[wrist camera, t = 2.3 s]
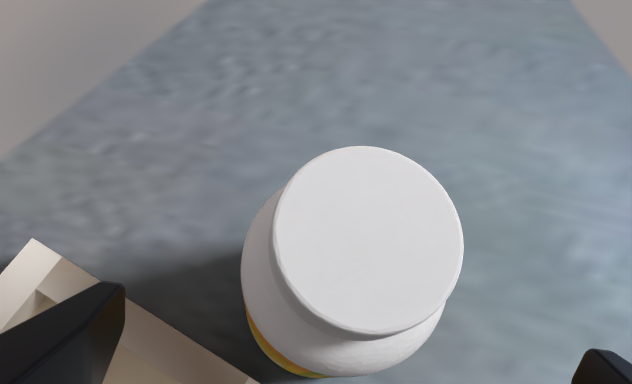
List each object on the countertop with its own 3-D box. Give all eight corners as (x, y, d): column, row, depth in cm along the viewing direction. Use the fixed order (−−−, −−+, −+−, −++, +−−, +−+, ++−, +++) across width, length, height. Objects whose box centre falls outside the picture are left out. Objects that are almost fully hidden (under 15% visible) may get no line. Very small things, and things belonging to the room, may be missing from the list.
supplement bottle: (289, 408, 17) (322, 440, 8) (222, 276, 19) (186, 180, 10) (410, 331, 19) (552, 285, 10) (339, 214, 20) (405, 80, 11)
